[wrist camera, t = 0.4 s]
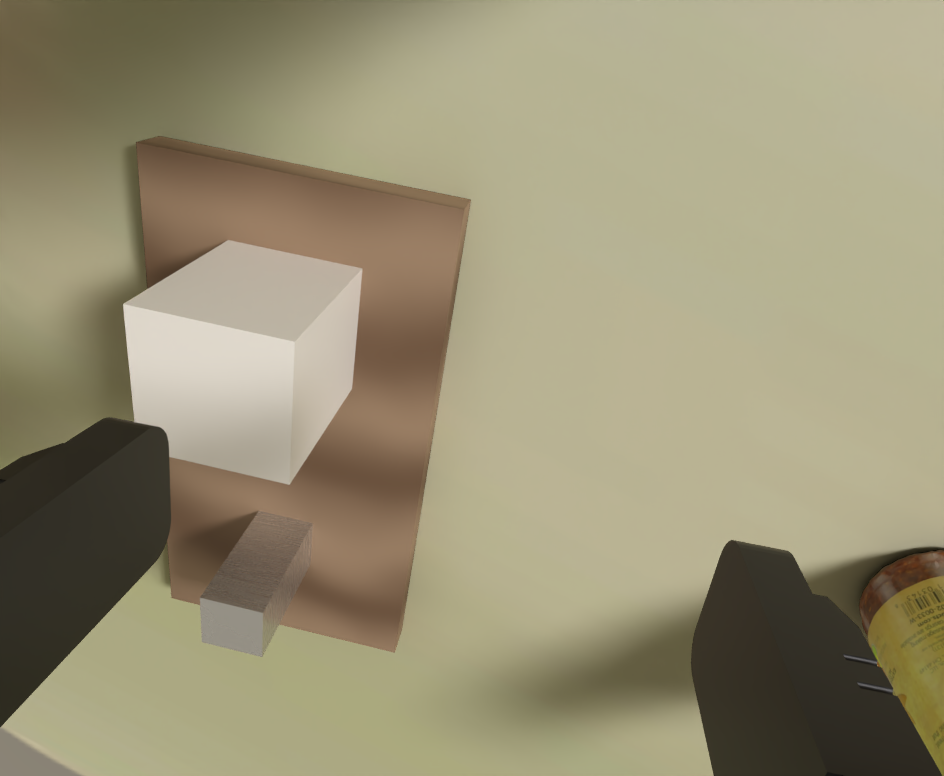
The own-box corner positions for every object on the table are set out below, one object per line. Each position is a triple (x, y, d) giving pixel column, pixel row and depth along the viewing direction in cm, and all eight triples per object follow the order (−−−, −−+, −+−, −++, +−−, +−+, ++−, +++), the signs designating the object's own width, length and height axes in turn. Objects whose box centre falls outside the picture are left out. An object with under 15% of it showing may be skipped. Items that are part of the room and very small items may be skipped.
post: (258, 510, 32) (199, 597, 27) (312, 523, 32) (262, 613, 27) (258, 552, 33) (202, 641, 28) (310, 564, 33) (262, 656, 28)
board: (159, 136, 26) (136, 142, 24) (470, 199, 25) (464, 209, 24) (186, 577, 37) (171, 597, 36) (401, 629, 36) (394, 652, 35)
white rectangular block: (228, 239, 26) (122, 304, 20) (362, 268, 25) (294, 341, 20) (229, 361, 28) (137, 449, 22) (352, 388, 28) (289, 484, 22)
